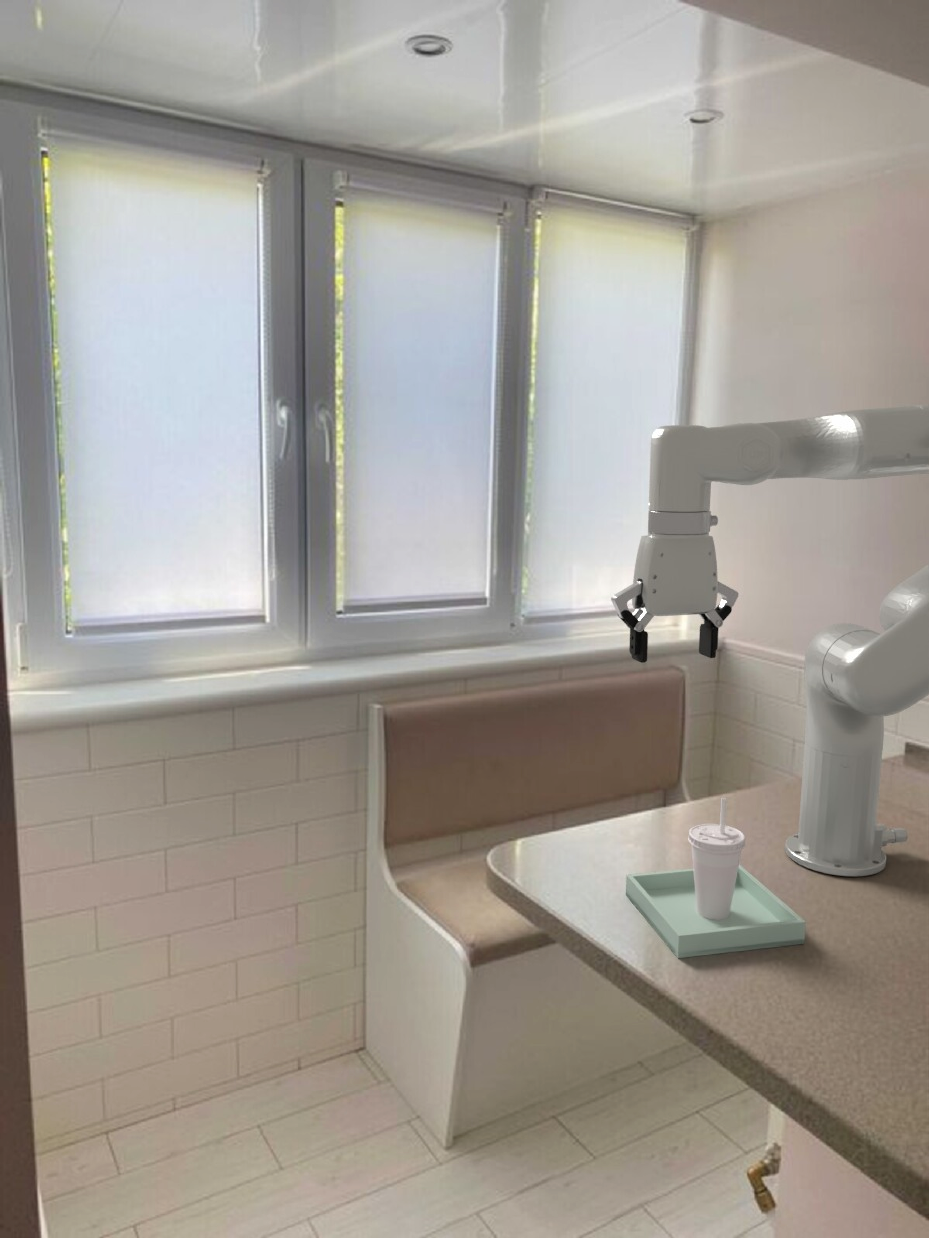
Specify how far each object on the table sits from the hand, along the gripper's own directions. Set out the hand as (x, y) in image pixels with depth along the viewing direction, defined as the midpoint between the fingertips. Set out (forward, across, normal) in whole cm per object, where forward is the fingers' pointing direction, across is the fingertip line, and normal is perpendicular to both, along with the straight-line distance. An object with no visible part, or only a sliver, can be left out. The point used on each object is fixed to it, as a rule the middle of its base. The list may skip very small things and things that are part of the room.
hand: (673, 658), depth 120 cm
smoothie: (+27, +2, +16) cm, 32 cm away
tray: (+27, +3, +16) cm, 32 cm away
